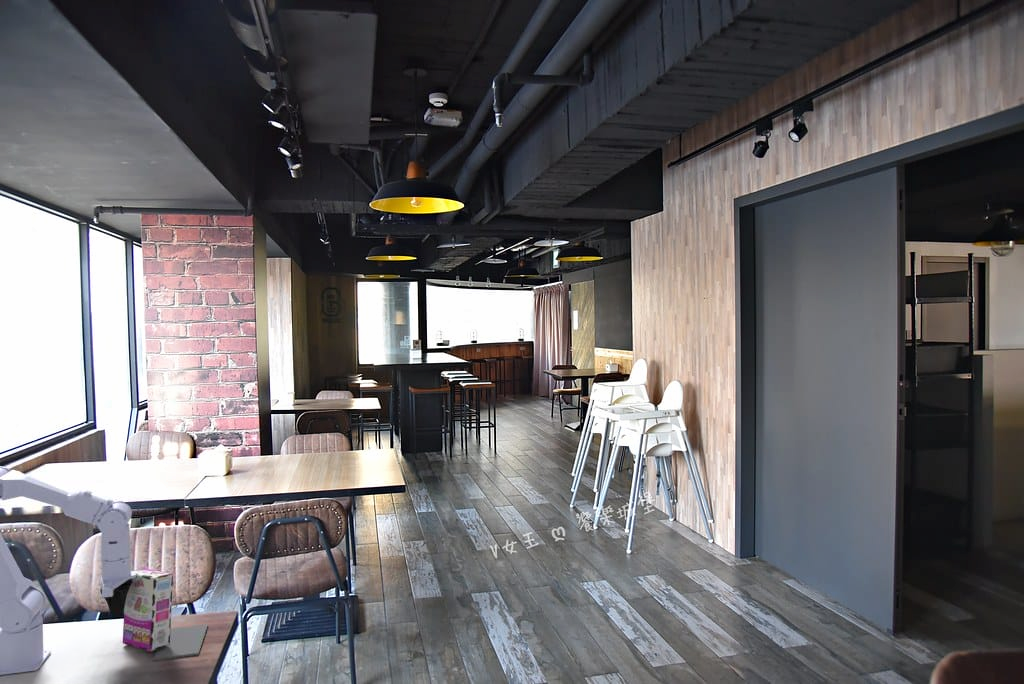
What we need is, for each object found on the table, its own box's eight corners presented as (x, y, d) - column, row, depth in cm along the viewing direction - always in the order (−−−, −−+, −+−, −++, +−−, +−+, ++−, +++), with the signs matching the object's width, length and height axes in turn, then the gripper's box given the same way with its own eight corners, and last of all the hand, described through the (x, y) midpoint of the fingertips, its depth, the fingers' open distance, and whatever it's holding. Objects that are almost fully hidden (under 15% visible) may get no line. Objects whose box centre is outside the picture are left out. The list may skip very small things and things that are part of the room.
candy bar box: (171, 645, 151) (174, 573, 153) (150, 652, 147) (154, 578, 148) (141, 636, 157) (145, 567, 158) (121, 643, 152) (124, 571, 154)
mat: (153, 660, 146) (153, 658, 146) (166, 631, 159) (166, 629, 159) (198, 655, 149) (198, 652, 149) (207, 626, 162) (207, 624, 162)
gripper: (127, 567, 143) (128, 627, 144) (143, 544, 157) (144, 599, 158) (90, 570, 141) (91, 631, 142) (110, 546, 155) (111, 602, 156)
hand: (117, 614), depth 150 cm, fingers closed
